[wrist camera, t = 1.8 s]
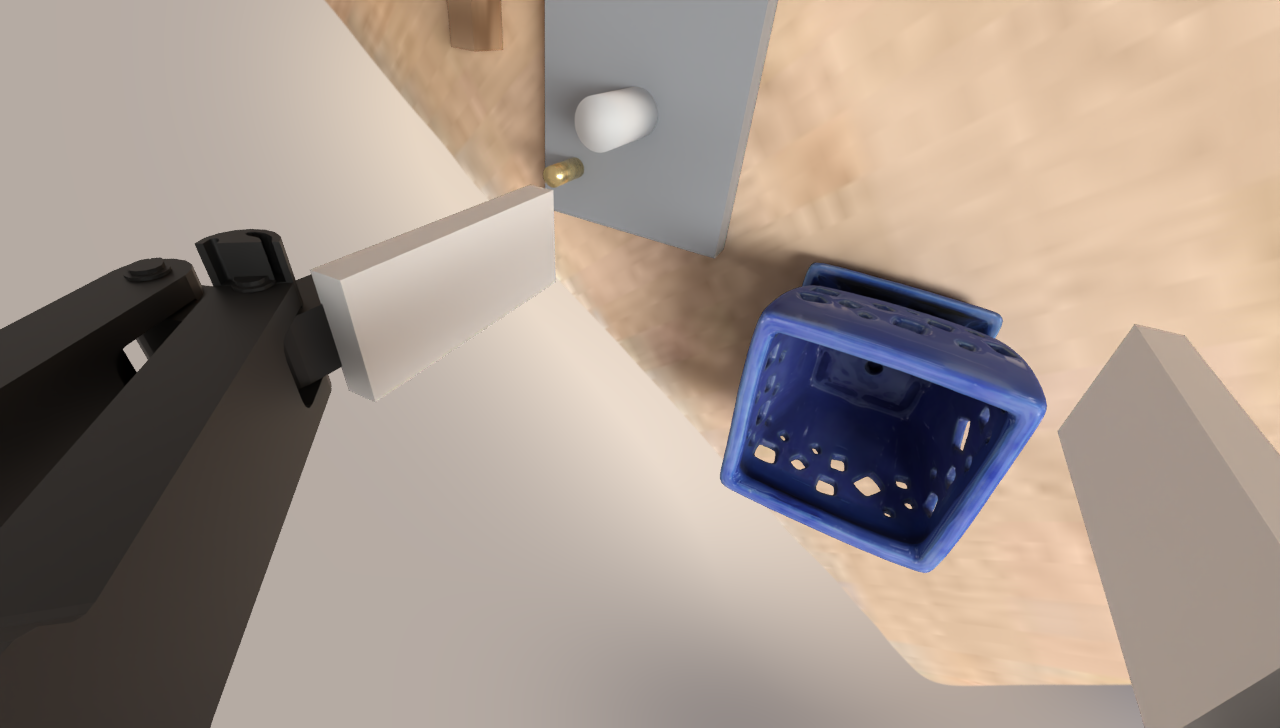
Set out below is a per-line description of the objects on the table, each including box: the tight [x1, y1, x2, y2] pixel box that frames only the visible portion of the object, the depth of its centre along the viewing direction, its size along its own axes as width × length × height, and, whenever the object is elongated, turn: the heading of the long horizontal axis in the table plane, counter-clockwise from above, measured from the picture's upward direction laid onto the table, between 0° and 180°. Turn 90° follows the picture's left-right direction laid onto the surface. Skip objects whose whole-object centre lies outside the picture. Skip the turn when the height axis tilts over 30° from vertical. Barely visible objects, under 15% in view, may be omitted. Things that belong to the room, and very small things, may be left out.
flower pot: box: [720, 263, 1047, 573], centre depth 32 cm, size 13×13×12 cm
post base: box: [545, 0, 778, 259], centre depth 32 cm, size 16×14×7 cm
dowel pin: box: [543, 157, 584, 188], centre depth 36 cm, size 1×1×3 cm
